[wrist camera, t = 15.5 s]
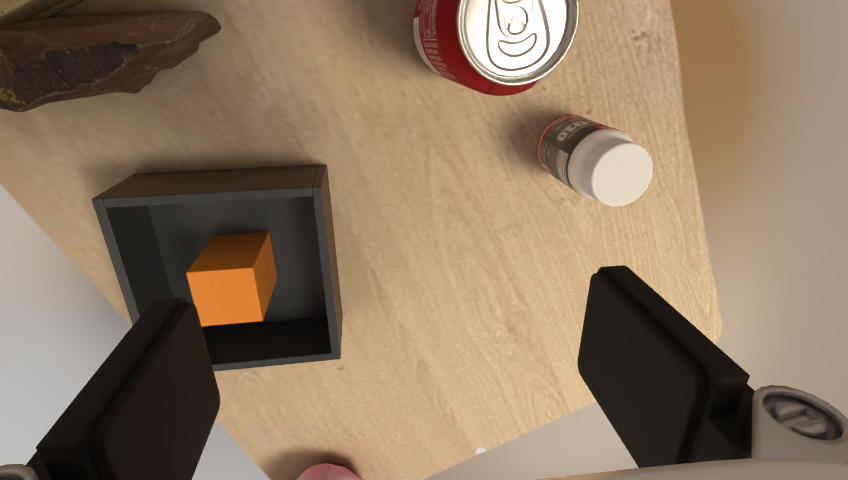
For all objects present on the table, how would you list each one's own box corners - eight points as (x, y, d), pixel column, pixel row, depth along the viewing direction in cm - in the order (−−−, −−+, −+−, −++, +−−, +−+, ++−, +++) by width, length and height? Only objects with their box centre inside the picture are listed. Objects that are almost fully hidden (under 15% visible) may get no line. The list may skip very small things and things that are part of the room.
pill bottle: (592, 107, 34) (660, 126, 26) (596, 167, 36) (661, 200, 28) (532, 124, 34) (583, 147, 26) (539, 182, 36) (589, 220, 28)
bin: (326, 164, 33) (321, 186, 28) (342, 317, 38) (340, 359, 33) (134, 173, 31) (90, 198, 26) (178, 331, 37) (149, 378, 32)
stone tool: (251, 83, 29) (32, 129, 30) (233, 7, 28) (11, 55, 29) (205, 59, 23) (-65, 117, 24) (181, -37, 22) (-95, 25, 23)
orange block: (269, 231, 34) (252, 267, 28) (277, 278, 35) (263, 321, 30) (213, 234, 33) (185, 272, 28) (224, 282, 35) (199, 326, 29)
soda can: (421, 89, 32) (456, 114, 21) (401, -19, 29) (429, -56, 18) (514, 69, 32) (595, 83, 21) (503, -41, 29) (591, -89, 18)
